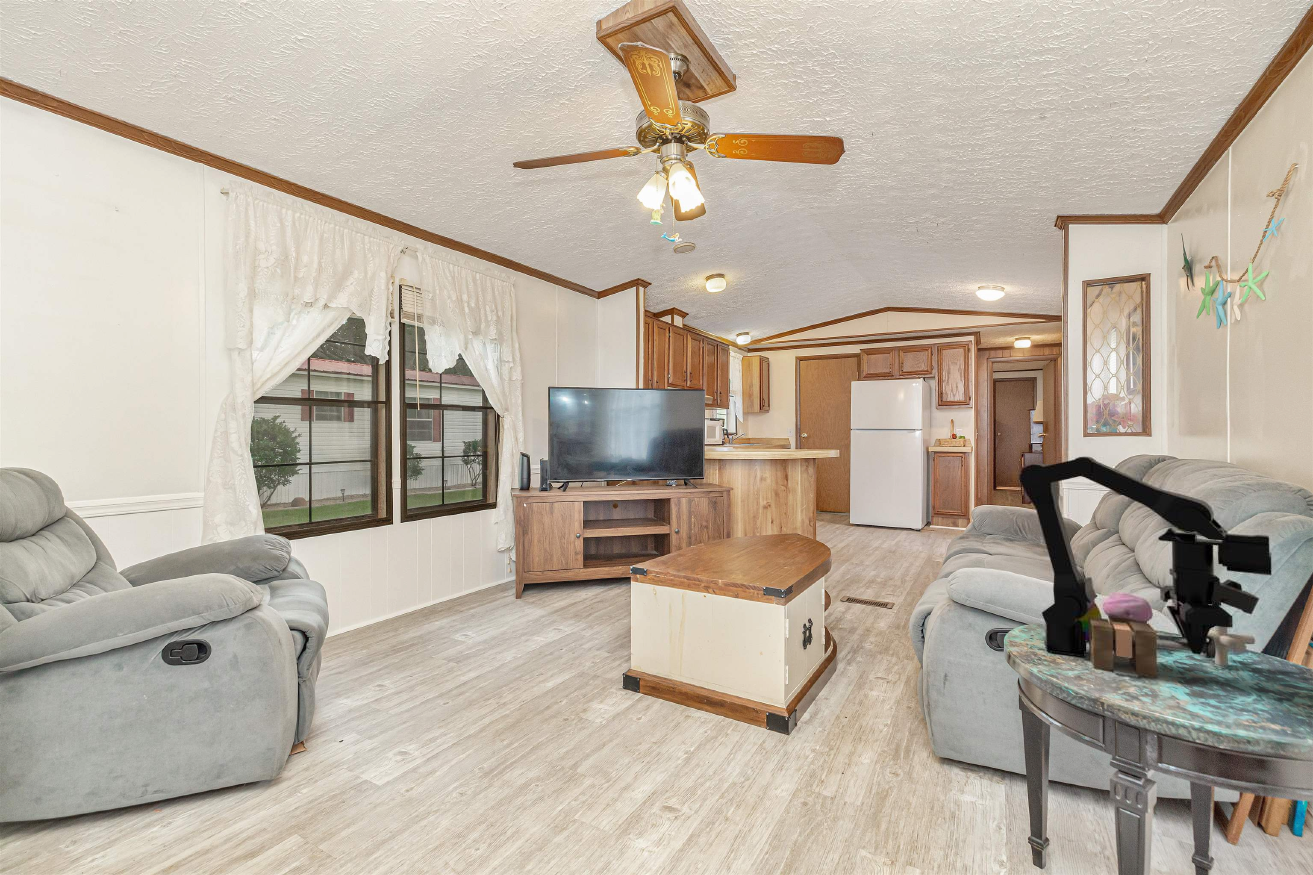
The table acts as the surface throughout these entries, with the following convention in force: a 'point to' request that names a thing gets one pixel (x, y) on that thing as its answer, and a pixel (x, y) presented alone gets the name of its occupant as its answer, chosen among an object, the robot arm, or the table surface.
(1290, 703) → the table surface
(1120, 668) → the mat
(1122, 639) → the spacer
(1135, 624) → the pillow blocks
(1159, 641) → the shaft
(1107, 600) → the cupcake
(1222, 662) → the pipe connector
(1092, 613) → the decorative egg
